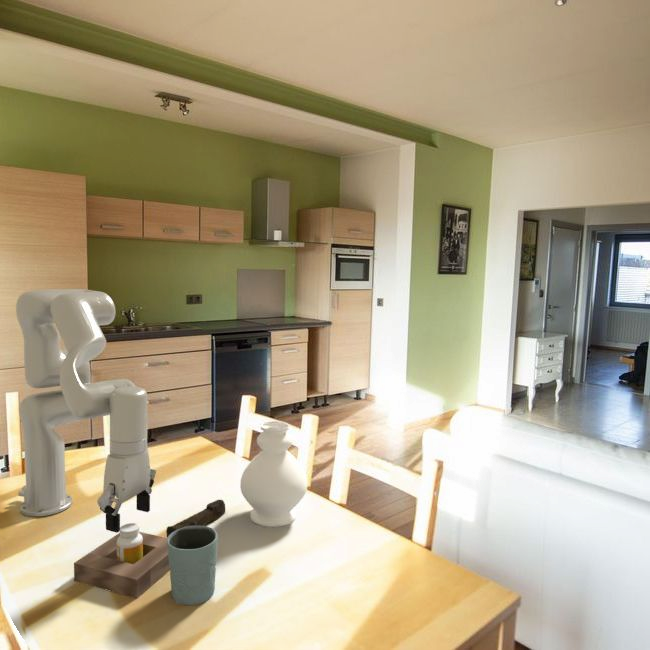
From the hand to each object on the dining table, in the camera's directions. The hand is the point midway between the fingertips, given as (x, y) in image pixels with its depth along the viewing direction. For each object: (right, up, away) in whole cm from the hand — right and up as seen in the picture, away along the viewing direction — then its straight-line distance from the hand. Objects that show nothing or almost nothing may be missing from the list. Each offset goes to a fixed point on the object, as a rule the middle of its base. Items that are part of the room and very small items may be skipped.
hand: (128, 520), depth 118 cm
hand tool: (+10, -9, +21) cm, 25 cm away
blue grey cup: (+16, -13, -7) cm, 21 cm away
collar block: (0, -11, +1) cm, 11 cm away
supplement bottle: (0, -11, +1) cm, 11 cm away
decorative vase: (+29, -9, +28) cm, 41 cm away
